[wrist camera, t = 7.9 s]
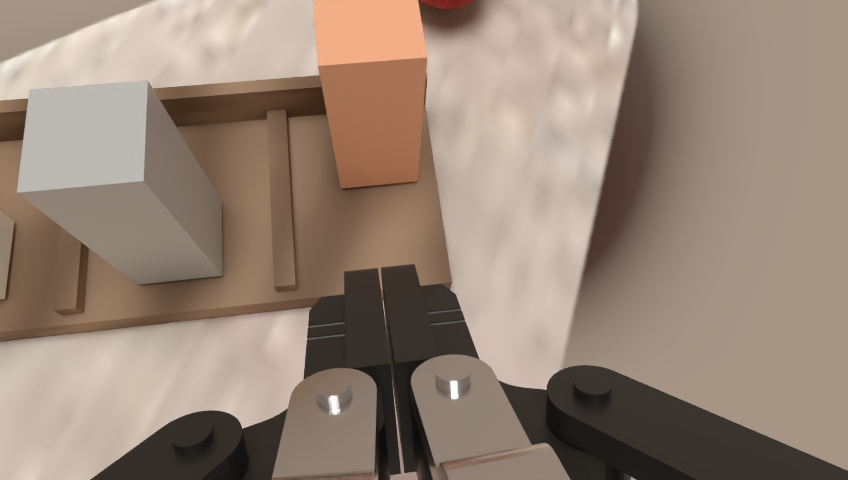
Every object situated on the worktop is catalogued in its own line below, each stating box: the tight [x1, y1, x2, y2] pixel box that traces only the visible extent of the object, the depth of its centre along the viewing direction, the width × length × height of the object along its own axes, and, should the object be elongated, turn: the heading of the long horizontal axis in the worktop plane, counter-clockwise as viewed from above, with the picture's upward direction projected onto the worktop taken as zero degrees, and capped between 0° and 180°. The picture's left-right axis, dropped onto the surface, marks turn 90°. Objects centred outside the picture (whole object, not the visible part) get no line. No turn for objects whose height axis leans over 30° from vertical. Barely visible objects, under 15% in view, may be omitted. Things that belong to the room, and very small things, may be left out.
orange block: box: [313, 0, 427, 189], centre depth 28 cm, size 4×4×10 cm
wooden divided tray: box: [0, 74, 452, 341], centre depth 31 cm, size 26×11×4 cm, turn 97°
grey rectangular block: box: [17, 81, 223, 285], centre depth 25 cm, size 4×4×10 cm
